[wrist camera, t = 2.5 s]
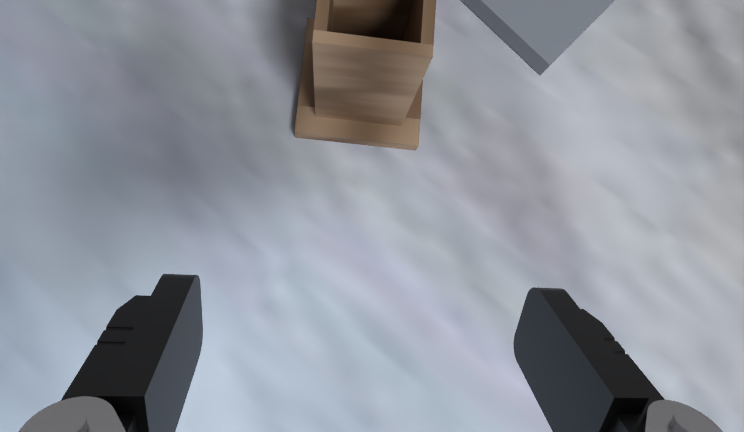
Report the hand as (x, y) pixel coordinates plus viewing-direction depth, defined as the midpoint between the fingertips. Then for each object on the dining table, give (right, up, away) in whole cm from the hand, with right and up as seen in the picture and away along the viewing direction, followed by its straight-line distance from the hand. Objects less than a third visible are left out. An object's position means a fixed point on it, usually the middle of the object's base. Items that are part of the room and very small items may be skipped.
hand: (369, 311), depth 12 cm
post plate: (+12, +23, +24) cm, 36 cm away
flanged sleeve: (-1, +11, +21) cm, 23 cm away
